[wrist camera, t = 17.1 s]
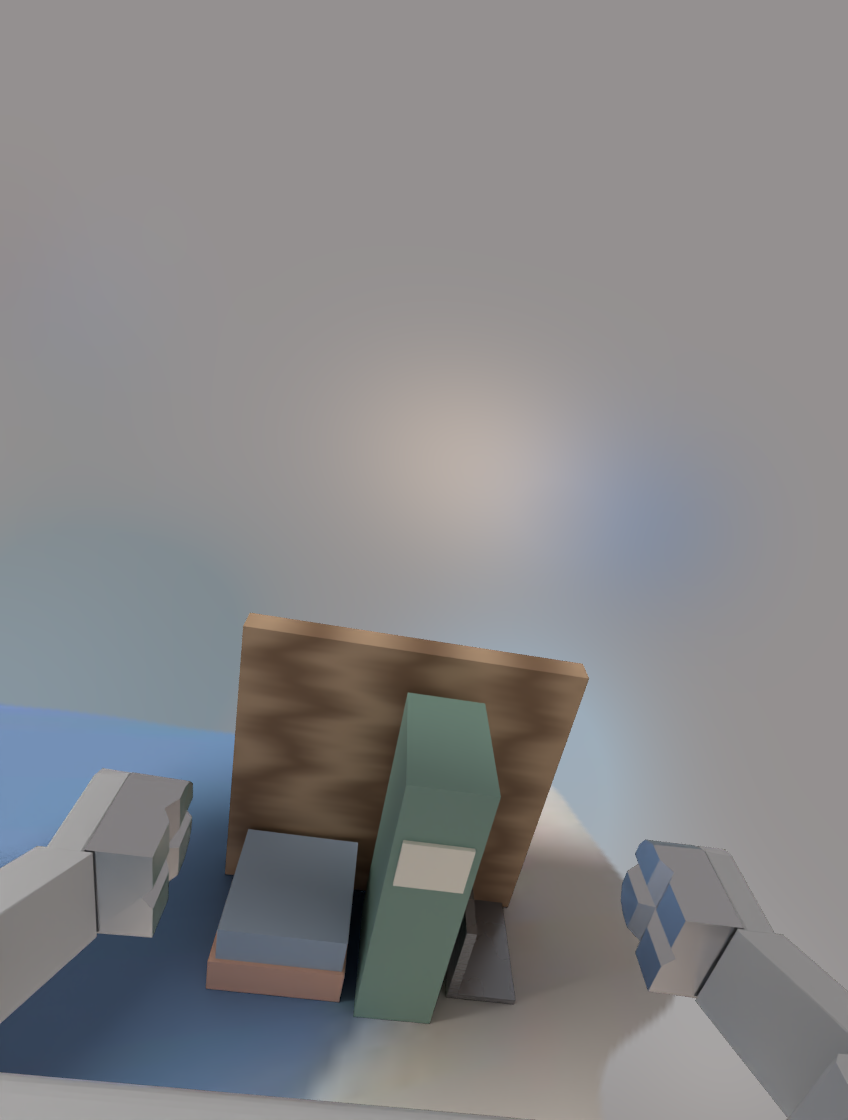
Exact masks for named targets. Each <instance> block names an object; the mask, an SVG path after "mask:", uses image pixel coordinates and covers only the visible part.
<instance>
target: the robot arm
mask: <svg viewBox="0 0 848 1120" xmlns="http://www.w3.org/2000/svg"><path fill="white" fill-rule="evenodd" d="M192 798H193V783H192V782H190V781H185V780H178V779H172V778H166V777H159V776H153V775H146V774H140V773H130V772H124V771H117V770H111V769H104V768H103V769H101V770H100V771H99V772H98V773H96V774H95V775H94V776H93V778H92V779H91V781H90V783H89V784H88V786H87V787H86V789H85V790H84V792H83V793H82V795H81V796H80V798H79V799H78V801H77V802H76V804H75V805H74V807H73V808H72V810H71V811H70V813H69V814H68V816H67V817H66V819H65V820H64V822H63V823H62V825H61V826H60V828H59V829H58V831H57V832H56V834H55V835H54V837H53V838H52V840H51V841H50V843H49V844H48V846H47V847H42V846H37V847H35V848H33V849H32V850H30V851H28V852H27V853H25V854H23V855H22V856H20V857H18V858H17V859H15V860H13V861H12V862H10V863H8V864H7V865H5V866H3V867H2V868H0V1023H2V1022H3V1021H4V1020H5V1019H6V1018H7V1017H8V1016H9V1015H10V1014H12V1013H13V1012H14V1011H15V1010H16V1009H17V1008H18V1007H19V1006H20V1005H22V1004H23V1003H24V1002H25V1001H26V1000H27V999H28V998H29V997H30V996H32V995H33V994H34V993H35V992H36V991H37V990H38V989H39V988H41V987H42V986H43V985H44V984H45V983H46V982H47V981H48V980H49V979H51V978H52V977H53V976H54V975H55V974H56V973H57V972H58V971H59V970H61V969H62V968H63V967H64V966H65V965H66V964H67V963H68V962H69V961H71V960H72V959H73V958H74V957H75V956H76V955H77V954H78V953H79V952H81V951H82V950H83V949H84V948H85V947H86V946H87V945H88V944H89V943H91V942H92V941H93V940H94V939H95V938H96V937H97V933H101V934H113V935H126V936H139V937H153V935H154V932H155V930H156V927H157V925H158V922H159V920H160V918H161V915H162V913H163V910H164V908H165V905H166V903H167V901H168V887H169V881H170V880H172V879H173V878H174V877H176V876H177V875H178V874H179V871H180V868H181V866H182V863H183V861H184V858H185V854H186V851H187V847H188V843H189V839H190V833H191V825H192V816H191V815H190V814H189V812H188V811H187V810H188V807H189V805H190V803H191V800H192ZM635 855H636V858H637V861H638V863H639V864H637V865H636V866H634V867H633V868H631V869H630V870H628V871H627V873H626V876H625V878H624V881H623V883H622V892H621V904H622V911H623V915H624V919H625V922H626V925H627V928H628V929H629V930H630V931H631V932H632V933H633V934H634V935H635V936H636V937H637V938H638V939H639V943H638V946H637V949H636V951H635V953H636V956H637V959H638V962H639V965H640V968H641V971H642V974H643V977H644V980H645V983H646V986H647V989H648V991H649V992H657V993H664V994H671V995H678V996H685V997H692V998H696V1000H695V1001H696V1002H697V1004H698V1005H699V1006H700V1007H701V1009H702V1010H703V1011H704V1012H705V1014H706V1015H707V1016H708V1018H709V1019H710V1020H711V1021H712V1022H713V1024H714V1025H715V1026H716V1028H717V1029H718V1030H719V1031H720V1033H721V1034H722V1035H723V1036H724V1038H725V1039H726V1040H727V1041H728V1043H729V1044H730V1045H731V1047H732V1048H733V1049H734V1050H735V1052H736V1053H737V1054H738V1055H739V1057H740V1058H741V1059H742V1061H743V1062H744V1063H745V1064H746V1066H747V1067H748V1068H749V1069H750V1071H751V1072H752V1073H753V1074H754V1076H755V1077H756V1078H757V1080H758V1081H759V1082H760V1083H761V1085H762V1086H763V1087H764V1088H765V1090H766V1091H767V1092H768V1093H769V1095H770V1096H771V1097H772V1099H773V1100H774V1101H775V1102H776V1104H777V1105H778V1106H779V1107H780V1109H781V1110H782V1111H783V1112H784V1114H785V1115H786V1116H787V1117H788V1118H787V1120H848V991H847V990H846V989H845V988H844V987H842V986H841V985H840V984H839V983H838V982H837V981H836V980H834V979H833V978H832V977H831V976H830V975H829V974H827V973H826V972H825V971H824V970H823V969H822V968H821V967H819V966H818V965H817V964H816V963H815V962H814V961H813V960H811V959H810V958H809V957H808V956H807V955H806V954H805V953H803V952H802V951H801V950H800V949H799V948H798V947H797V946H795V945H794V944H793V943H792V942H791V941H790V940H789V939H787V938H786V937H785V936H784V935H782V934H776V933H774V931H773V929H772V928H771V926H770V924H769V922H768V921H767V919H766V917H765V915H764V913H763V911H762V909H761V908H760V906H759V904H758V902H757V900H756V899H755V897H754V895H753V893H752V891H751V890H750V888H749V886H748V885H747V882H746V881H745V879H744V877H743V875H742V873H741V872H740V870H739V868H738V866H737V864H736V863H735V861H734V859H733V857H732V856H731V854H729V853H728V852H727V851H726V850H725V849H719V848H710V847H701V846H694V845H686V844H678V843H669V842H661V841H652V840H644V841H643V842H642V843H641V844H640V845H639V847H638V849H637V851H636V853H635ZM0 1120H533V1119H522V1118H511V1117H500V1116H488V1115H477V1114H466V1113H454V1112H443V1111H431V1110H420V1109H409V1108H397V1107H386V1106H374V1105H363V1104H352V1103H340V1102H329V1101H317V1100H306V1099H295V1098H284V1097H272V1096H261V1095H250V1094H238V1093H227V1092H216V1091H205V1090H193V1089H182V1088H171V1087H159V1086H148V1085H137V1084H126V1083H114V1082H103V1081H92V1080H81V1079H69V1078H58V1077H47V1076H35V1075H24V1074H13V1073H2V1072H0Z"/></svg>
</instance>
